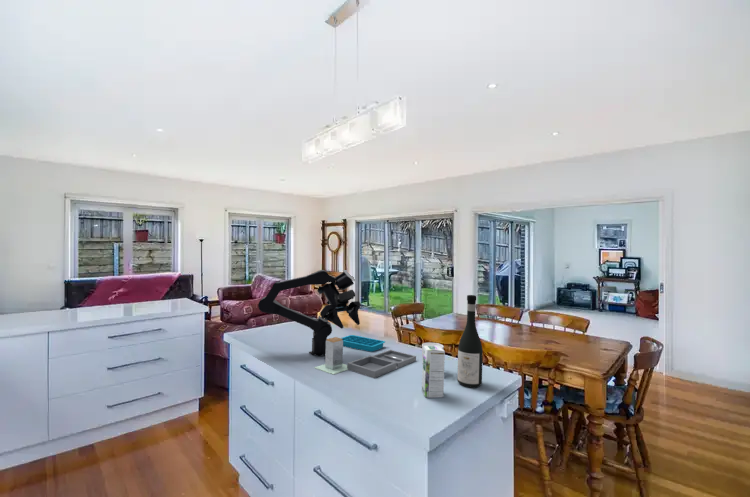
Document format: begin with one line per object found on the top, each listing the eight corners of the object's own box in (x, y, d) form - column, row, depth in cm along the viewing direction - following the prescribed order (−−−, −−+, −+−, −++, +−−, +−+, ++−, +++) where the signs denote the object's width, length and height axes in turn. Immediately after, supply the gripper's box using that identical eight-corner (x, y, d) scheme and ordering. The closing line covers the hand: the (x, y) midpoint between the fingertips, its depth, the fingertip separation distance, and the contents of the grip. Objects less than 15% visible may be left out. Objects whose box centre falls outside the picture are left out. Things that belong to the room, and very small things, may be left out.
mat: (314, 368, 129) (314, 367, 129) (334, 362, 137) (334, 361, 137) (333, 375, 123) (333, 373, 123) (352, 368, 131) (352, 367, 131)
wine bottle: (477, 390, 113) (480, 297, 113) (454, 385, 117) (456, 295, 117) (484, 383, 119) (486, 295, 120) (461, 378, 124) (463, 293, 124)
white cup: (444, 370, 131) (445, 343, 131) (441, 377, 123) (442, 349, 124) (423, 367, 133) (424, 341, 134) (419, 374, 126) (420, 346, 126)
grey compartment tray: (347, 369, 129) (347, 362, 129) (390, 354, 150) (390, 348, 150) (374, 378, 121) (374, 371, 121) (416, 361, 141) (416, 354, 141)
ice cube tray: (372, 353, 151) (372, 346, 151) (336, 345, 162) (336, 339, 162) (386, 348, 161) (386, 341, 161) (351, 340, 172) (351, 334, 172)
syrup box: (421, 390, 112) (422, 345, 112) (439, 390, 112) (440, 345, 112) (425, 398, 106) (426, 350, 106) (444, 397, 106) (445, 350, 106)
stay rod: (383, 357, 143) (383, 354, 143) (385, 356, 144) (385, 354, 144) (403, 362, 137) (403, 359, 137) (404, 361, 138) (404, 359, 138)
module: (325, 367, 129) (325, 339, 129) (334, 364, 133) (335, 336, 133) (332, 370, 127) (333, 341, 127) (342, 366, 131) (343, 338, 131)
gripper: (325, 284, 137) (344, 317, 130) (358, 282, 151) (377, 311, 144) (312, 302, 142) (329, 334, 135) (345, 298, 156) (362, 327, 149)
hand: (351, 326), depth 140 cm, fingers open, 9 cm apart
